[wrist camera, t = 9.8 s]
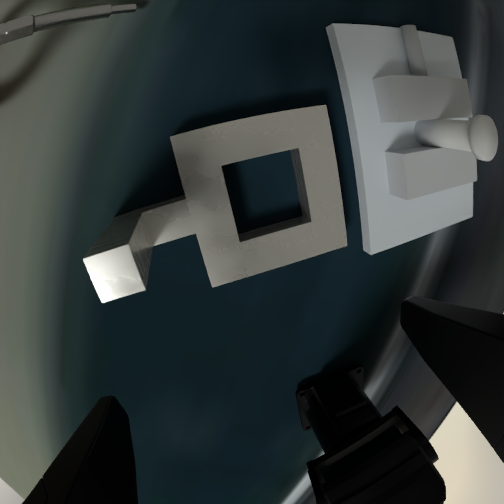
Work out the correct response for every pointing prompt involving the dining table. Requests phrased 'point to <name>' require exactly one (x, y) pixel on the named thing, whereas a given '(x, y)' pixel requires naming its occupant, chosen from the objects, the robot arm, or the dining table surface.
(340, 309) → the dining table surface
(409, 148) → the plate with round-ended peg
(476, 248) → the dining table surface
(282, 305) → the dining table surface
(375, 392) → the dining table surface
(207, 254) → the square frame with handle
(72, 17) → the tow hook
